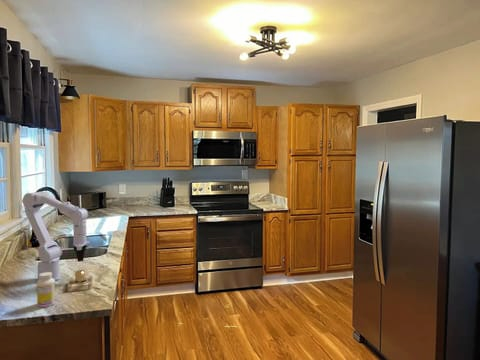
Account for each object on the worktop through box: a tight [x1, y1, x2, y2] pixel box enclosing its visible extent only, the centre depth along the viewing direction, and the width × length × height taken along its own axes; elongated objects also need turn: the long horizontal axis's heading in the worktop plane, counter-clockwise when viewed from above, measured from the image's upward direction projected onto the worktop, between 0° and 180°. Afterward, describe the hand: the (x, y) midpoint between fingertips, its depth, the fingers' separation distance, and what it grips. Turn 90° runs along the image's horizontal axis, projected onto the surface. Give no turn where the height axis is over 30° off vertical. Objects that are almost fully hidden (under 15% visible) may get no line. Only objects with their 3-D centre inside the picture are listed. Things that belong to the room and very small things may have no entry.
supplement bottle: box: [36, 272, 57, 308], centre depth 147 cm, size 7×7×13 cm
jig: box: [67, 275, 93, 293], centre depth 168 cm, size 10×12×2 cm
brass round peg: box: [74, 269, 86, 283], centre depth 167 cm, size 4×4×7 cm
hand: (80, 261), depth 174 cm, fingers closed
